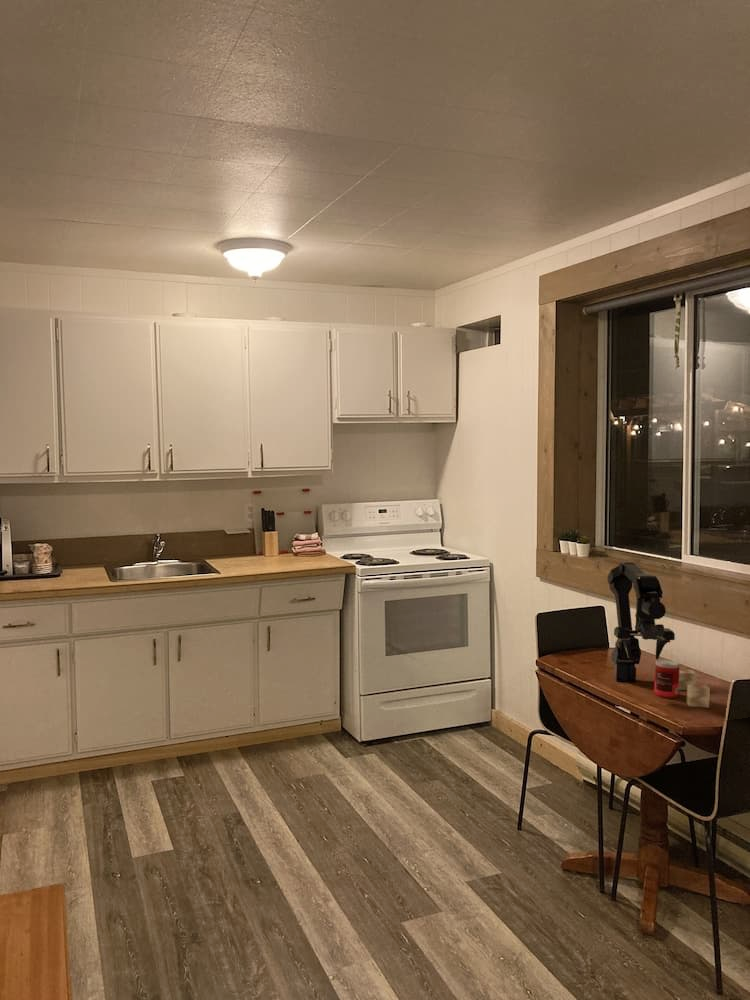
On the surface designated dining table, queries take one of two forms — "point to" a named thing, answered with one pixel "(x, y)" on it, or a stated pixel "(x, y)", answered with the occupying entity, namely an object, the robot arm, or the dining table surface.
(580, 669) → the dining table surface
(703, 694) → the beech block
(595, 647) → the dining table surface
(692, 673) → the grey-green block
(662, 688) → the canned food
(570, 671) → the dining table surface
